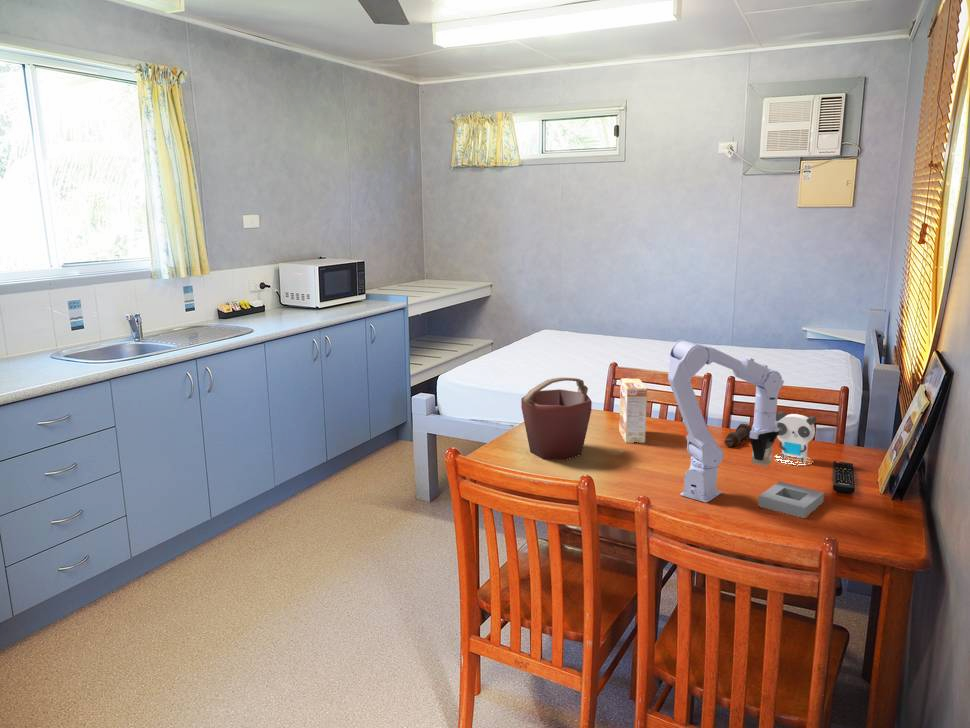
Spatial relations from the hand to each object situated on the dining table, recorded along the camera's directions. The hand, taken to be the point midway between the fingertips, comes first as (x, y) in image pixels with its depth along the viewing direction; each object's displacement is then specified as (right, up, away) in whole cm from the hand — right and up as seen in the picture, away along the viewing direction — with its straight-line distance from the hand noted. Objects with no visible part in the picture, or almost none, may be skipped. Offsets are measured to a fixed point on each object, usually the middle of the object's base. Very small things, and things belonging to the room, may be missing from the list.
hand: (761, 457), depth 199 cm
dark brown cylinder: (+8, -1, +43) cm, 44 cm away
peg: (0, -2, 0) cm, 2 cm away
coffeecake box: (-26, 0, +50) cm, 57 cm away
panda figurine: (+20, -4, +25) cm, 32 cm away
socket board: (+4, -12, -9) cm, 15 cm away
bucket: (-54, -3, +35) cm, 64 cm away
